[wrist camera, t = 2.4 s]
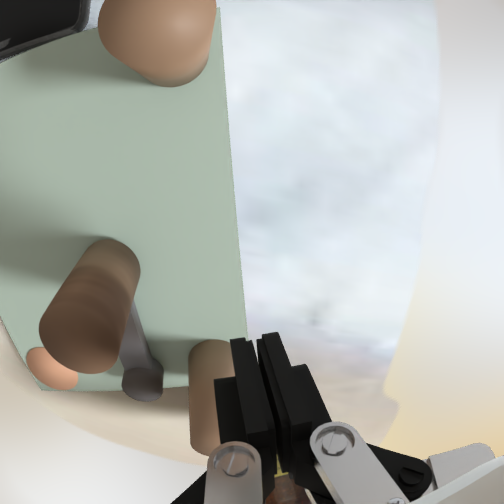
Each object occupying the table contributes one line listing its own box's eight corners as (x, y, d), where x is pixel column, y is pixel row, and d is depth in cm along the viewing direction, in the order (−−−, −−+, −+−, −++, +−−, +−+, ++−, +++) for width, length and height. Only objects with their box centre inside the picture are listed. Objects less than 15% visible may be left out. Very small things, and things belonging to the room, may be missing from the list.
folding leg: (173, 381, 21) (172, 458, 15) (126, 384, 21) (116, 458, 15) (133, 235, 16) (102, 301, 10) (75, 243, 16) (25, 308, 10)
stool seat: (-34, 92, 13) (-126, 101, 4) (217, 19, 15) (234, -56, 6) (49, 371, 23) (19, 454, 14) (247, 356, 25) (270, 455, 16)
